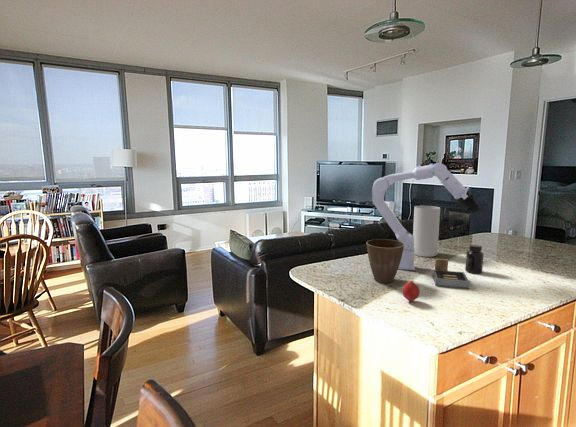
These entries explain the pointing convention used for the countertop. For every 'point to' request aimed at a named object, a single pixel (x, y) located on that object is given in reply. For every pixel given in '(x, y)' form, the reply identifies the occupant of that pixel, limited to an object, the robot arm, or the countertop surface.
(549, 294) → the countertop surface
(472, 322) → the countertop surface
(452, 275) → the square metal tray
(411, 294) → the onion
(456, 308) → the countertop surface
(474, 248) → the supplement bottle
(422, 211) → the cylinder vase
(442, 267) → the tan wooden brick
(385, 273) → the plant pot
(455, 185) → the robot arm
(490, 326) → the countertop surface
